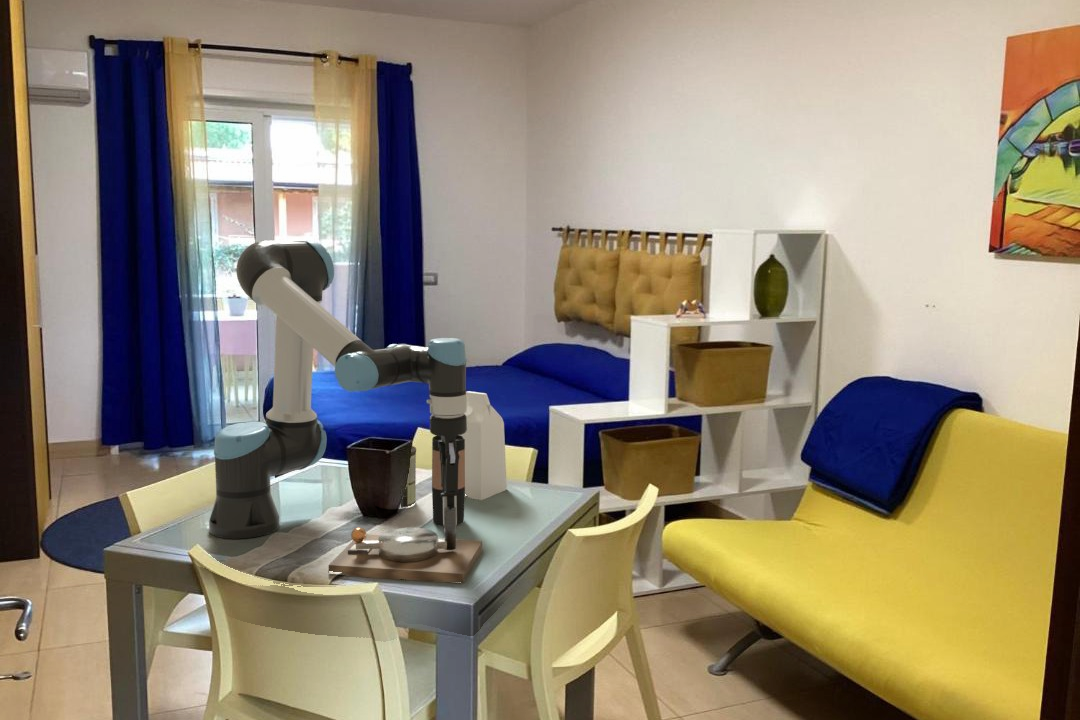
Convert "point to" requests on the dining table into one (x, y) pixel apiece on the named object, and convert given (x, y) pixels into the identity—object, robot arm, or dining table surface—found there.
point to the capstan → (411, 540)
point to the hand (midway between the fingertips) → (450, 524)
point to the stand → (409, 563)
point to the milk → (484, 448)
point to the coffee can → (410, 482)
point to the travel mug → (436, 482)
